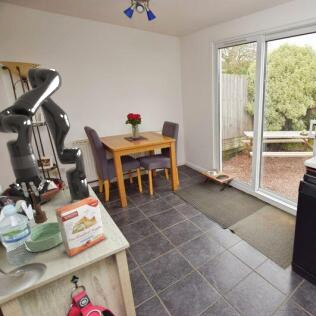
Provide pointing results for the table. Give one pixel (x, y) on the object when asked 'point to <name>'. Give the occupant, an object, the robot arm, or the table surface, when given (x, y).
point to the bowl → (44, 237)
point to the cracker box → (80, 225)
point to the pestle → (38, 211)
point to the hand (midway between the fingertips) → (36, 202)
